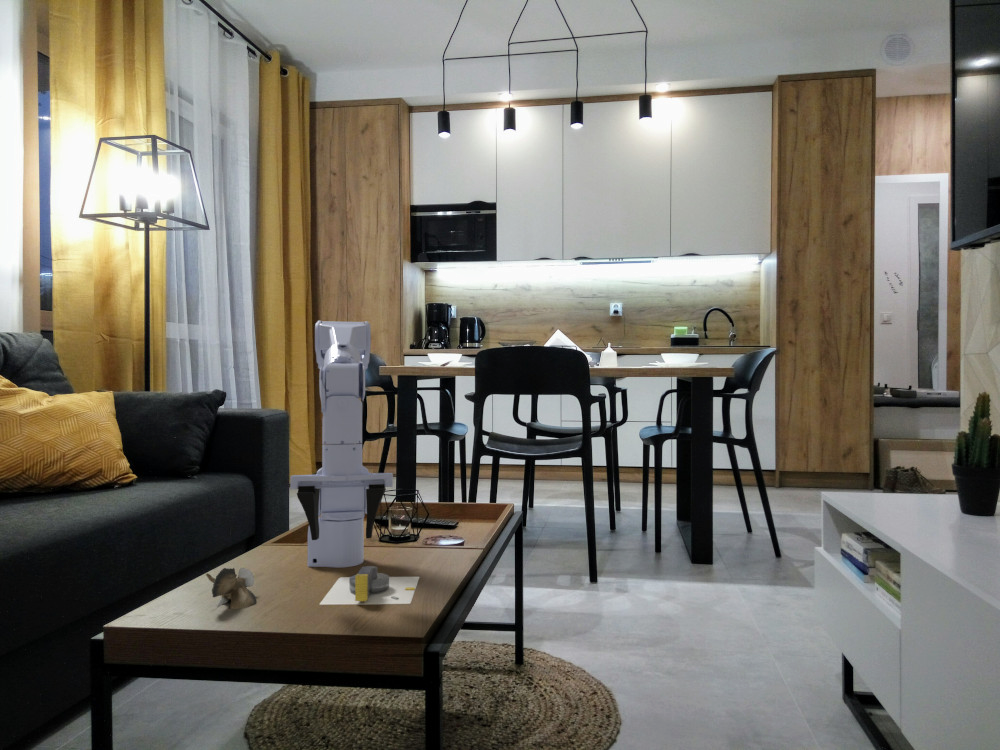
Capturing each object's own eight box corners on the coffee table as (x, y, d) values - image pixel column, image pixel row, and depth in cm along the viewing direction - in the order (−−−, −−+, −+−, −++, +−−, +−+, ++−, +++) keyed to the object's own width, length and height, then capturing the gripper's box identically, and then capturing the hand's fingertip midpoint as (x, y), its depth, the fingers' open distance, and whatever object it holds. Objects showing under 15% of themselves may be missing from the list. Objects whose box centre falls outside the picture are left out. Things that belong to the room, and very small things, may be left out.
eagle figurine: (190, 599, 101) (198, 604, 93) (217, 554, 104) (227, 555, 96) (237, 622, 103) (248, 628, 96) (263, 577, 106) (276, 579, 99)
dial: (353, 582, 109) (353, 558, 109) (391, 581, 109) (391, 558, 109) (339, 602, 99) (340, 576, 99) (382, 602, 99) (382, 575, 99)
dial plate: (319, 611, 99) (319, 603, 99) (339, 583, 113) (339, 576, 113) (410, 610, 99) (410, 602, 99) (419, 582, 113) (419, 575, 113)
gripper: (286, 445, 97) (285, 544, 96) (390, 443, 98) (390, 540, 97) (296, 445, 104) (295, 536, 103) (393, 443, 105) (394, 533, 104)
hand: (342, 538), depth 100 cm, fingers open, 7 cm apart
